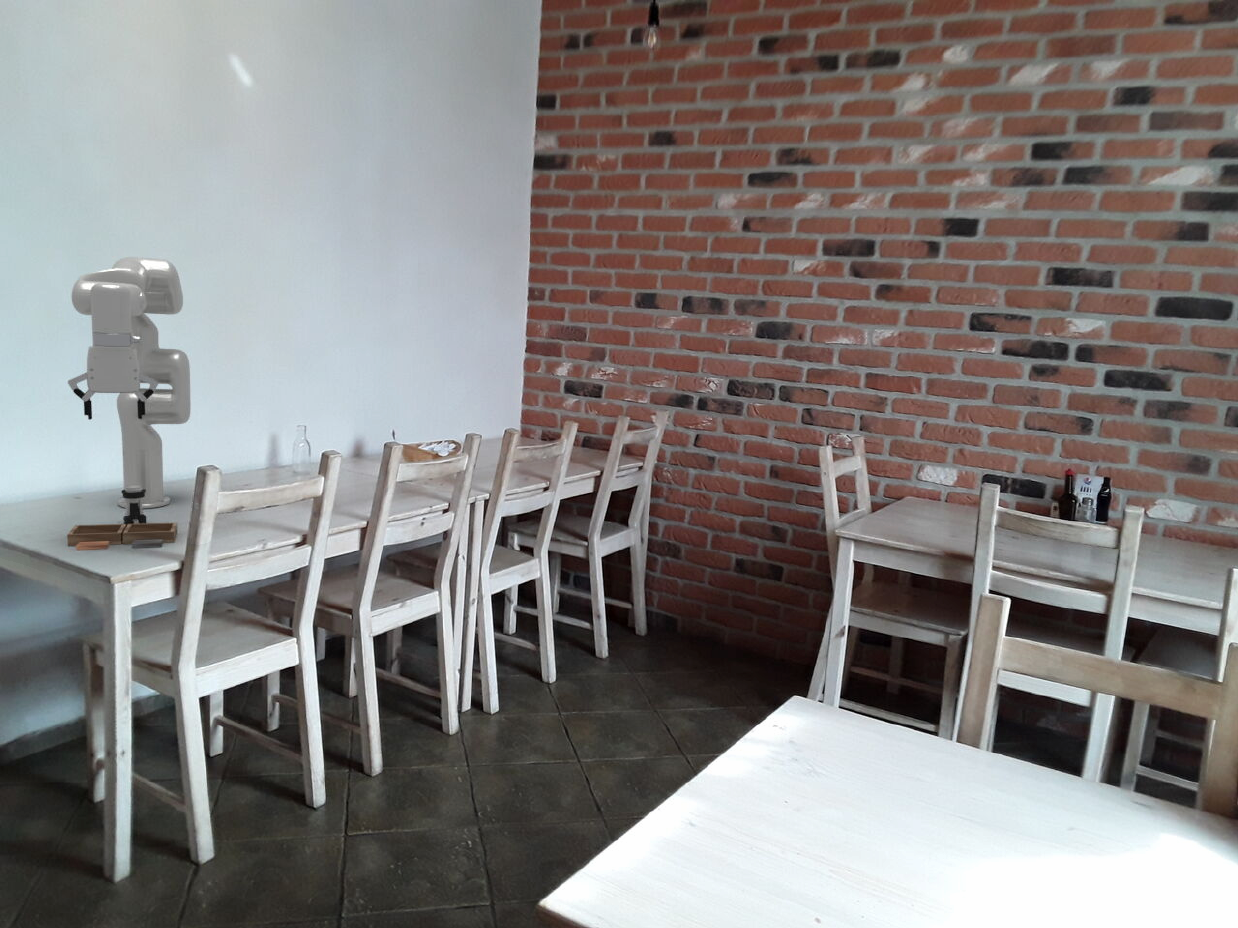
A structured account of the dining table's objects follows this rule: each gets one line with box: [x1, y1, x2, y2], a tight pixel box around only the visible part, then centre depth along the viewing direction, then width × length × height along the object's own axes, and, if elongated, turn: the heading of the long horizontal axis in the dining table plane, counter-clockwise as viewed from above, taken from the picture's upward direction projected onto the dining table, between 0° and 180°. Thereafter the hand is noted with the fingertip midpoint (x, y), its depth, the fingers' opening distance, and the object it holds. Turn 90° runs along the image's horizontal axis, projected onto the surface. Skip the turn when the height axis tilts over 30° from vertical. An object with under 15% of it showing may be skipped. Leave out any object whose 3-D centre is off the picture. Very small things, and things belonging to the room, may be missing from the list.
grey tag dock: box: [122, 522, 178, 549], centre depth 206 cm, size 12×11×3 cm
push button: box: [116, 485, 148, 526], centre depth 216 cm, size 7×5×10 cm
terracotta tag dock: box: [66, 523, 126, 551], centre depth 202 cm, size 12×11×3 cm
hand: (115, 418), depth 194 cm, fingers open, 9 cm apart
